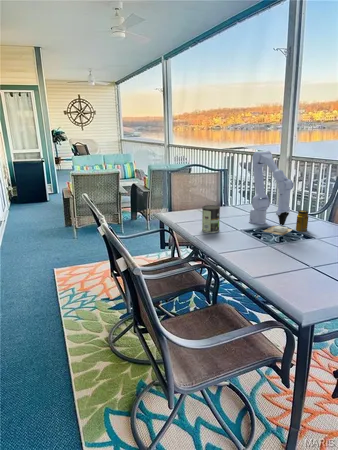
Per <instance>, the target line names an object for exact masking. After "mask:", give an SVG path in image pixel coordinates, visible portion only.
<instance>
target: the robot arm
mask: <svg viewBox="0 0 338 450" xmlns="http://www.w3.org/2000/svg"><path fill="white" fill-rule="evenodd" d="M273 157H274V155H273V154H272V152H271V151H270V150H265V151H255V152H253V155H252V156H251V160H252V166H253V167H252V169H253V178H254V180H253V181H254V189H255V195H254V196H253V197H252V201H251V207H252V208H251V209H250V212H249V221H248V223H250V224H258V225H265V224H267V223H268V221H267V210H268V208H270V205H271V202H270V198H269V195H268V194H267V193H266V191H265V180H264V169H263V168H264V166H265V165H266V166H267V167H268V168H269V170H270V171H271V172H272V178H274V181H276V183H277V189H278V194H279V195H278V206H277V209H276V212H275V215H276V216H277V218H278V222H279V226H284V225H285V223H286V220H287V219H288V216H289V215H290V212H292V210H291V206H290V202H291V201H290V200H291V199H290V198H291V190H293V189H294V182H293V180H292V179H289V178H288V177H287V175H285V173H284V170H282V169H279V168H278V166H277V164H276V162H275V161H274V158H273Z"/></svg>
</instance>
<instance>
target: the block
mask: <svg viewBox="0 0 338 450" xmlns="http://www.w3.org/2000/svg"><path fill="white" fill-rule="evenodd" d="M276 226H277V227H275V228H273V231H277V232H282V233H284V232H286V231H287V230H288V229H289V227H287V226H283V225H276Z"/></svg>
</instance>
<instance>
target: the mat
mask: <svg viewBox="0 0 338 450" xmlns="http://www.w3.org/2000/svg"><path fill="white" fill-rule="evenodd" d="M277 226H278V225H272V226H270V227H268V228H266V229H263V232H264V233H270V234H273V235H279V236H284V235H287V233H289V232H291V231H293V229H292V228H288V230H287V231H286V232H284V233H282V232H277V231H273V228H275V227H277Z"/></svg>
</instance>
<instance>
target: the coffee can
mask: <svg viewBox="0 0 338 450" xmlns="http://www.w3.org/2000/svg"><path fill="white" fill-rule="evenodd" d="M201 208H202V214H201V217H202V219H201V231H202V232H204V233H207V234H208V233H209V234H215V233H218V232H219V231H220V216H221V214H220V212H221V207H220V206H218V205H216V204H215V205H213V204H211V205H210V204H209V205H208V204H207V205H203V206H202V207H201Z"/></svg>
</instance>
